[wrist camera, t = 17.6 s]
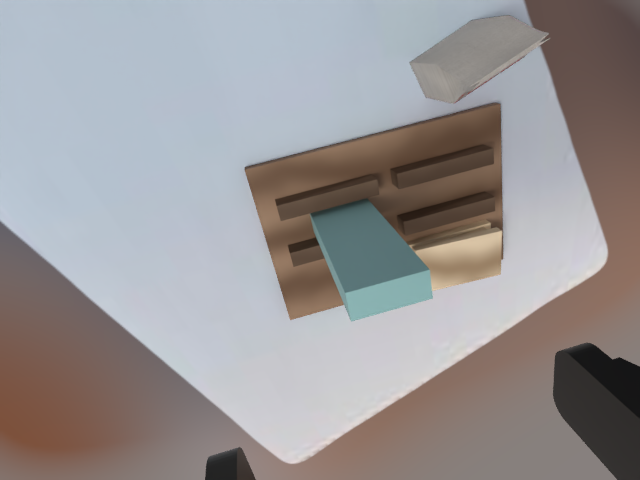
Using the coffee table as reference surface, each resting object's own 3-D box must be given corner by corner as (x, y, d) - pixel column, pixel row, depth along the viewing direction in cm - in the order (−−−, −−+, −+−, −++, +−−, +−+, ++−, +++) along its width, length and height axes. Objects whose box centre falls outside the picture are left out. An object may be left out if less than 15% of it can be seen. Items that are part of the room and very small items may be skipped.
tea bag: (409, 62, 39) (460, 65, 30) (471, 20, 38) (542, 9, 29) (425, 97, 40) (478, 109, 31) (485, 57, 40) (556, 58, 31)
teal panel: (309, 211, 42) (345, 293, 28) (365, 196, 42) (429, 269, 28) (314, 232, 43) (351, 321, 29) (368, 217, 43) (432, 298, 29)
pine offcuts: (399, 240, 45) (409, 252, 43) (486, 216, 46) (502, 226, 43) (406, 288, 48) (416, 302, 45) (488, 264, 49) (503, 277, 46)
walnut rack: (244, 167, 40) (245, 175, 37) (494, 102, 42) (512, 106, 39) (289, 315, 48) (292, 330, 45) (498, 255, 50) (513, 266, 47)
